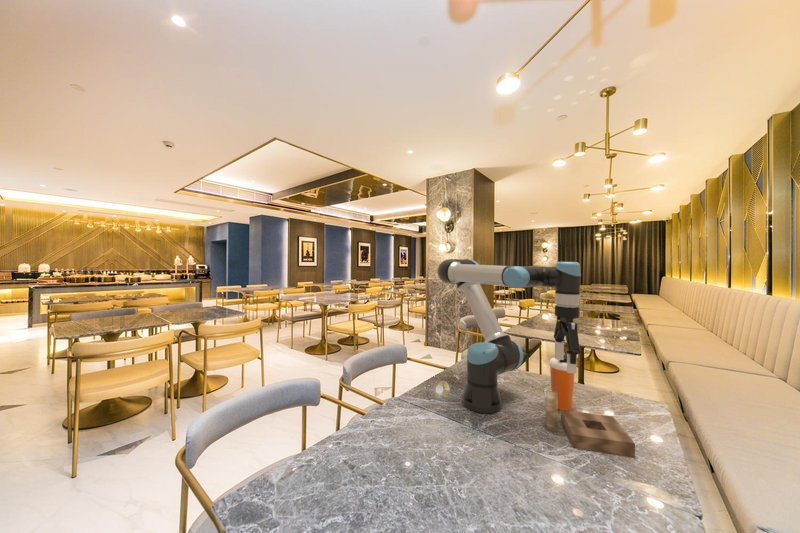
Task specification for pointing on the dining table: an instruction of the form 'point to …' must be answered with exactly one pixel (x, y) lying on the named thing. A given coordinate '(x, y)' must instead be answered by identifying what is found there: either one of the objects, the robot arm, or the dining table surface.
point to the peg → (551, 410)
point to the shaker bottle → (562, 383)
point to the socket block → (597, 433)
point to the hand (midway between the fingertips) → (564, 365)
